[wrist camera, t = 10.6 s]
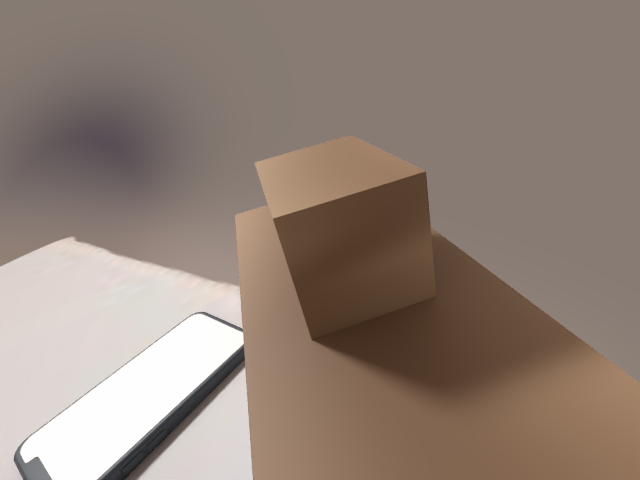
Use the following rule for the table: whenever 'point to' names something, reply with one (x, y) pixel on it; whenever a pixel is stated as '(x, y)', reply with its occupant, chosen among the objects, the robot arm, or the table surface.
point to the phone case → (134, 405)
